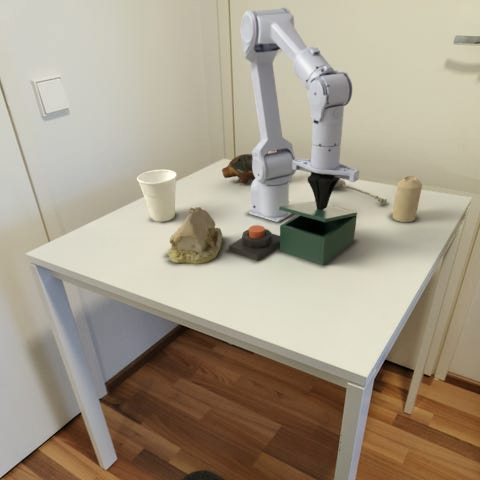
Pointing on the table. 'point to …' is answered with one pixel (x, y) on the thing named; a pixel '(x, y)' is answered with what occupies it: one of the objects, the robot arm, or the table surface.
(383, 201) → the soupspoon
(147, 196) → the cup
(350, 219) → the box
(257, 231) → the button
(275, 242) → the switch block
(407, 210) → the candle
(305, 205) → the lid
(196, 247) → the ceramic model
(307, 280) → the table surface
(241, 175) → the decorative turtle
